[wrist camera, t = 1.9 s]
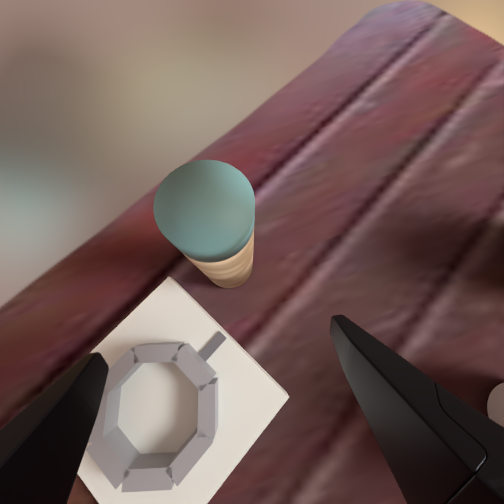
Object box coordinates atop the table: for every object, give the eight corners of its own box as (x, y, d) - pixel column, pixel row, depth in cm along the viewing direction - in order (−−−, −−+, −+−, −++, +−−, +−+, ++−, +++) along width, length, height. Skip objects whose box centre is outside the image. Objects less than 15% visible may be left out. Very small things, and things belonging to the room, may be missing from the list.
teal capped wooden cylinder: (230, 298, 21) (203, 273, 9) (196, 266, 22) (132, 205, 10) (262, 264, 22) (275, 200, 10) (229, 234, 23) (205, 143, 11)
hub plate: (158, 557, 16) (138, 609, 13) (44, 403, 19) (7, 419, 16) (286, 392, 19) (293, 405, 16) (173, 278, 22) (161, 272, 19)
